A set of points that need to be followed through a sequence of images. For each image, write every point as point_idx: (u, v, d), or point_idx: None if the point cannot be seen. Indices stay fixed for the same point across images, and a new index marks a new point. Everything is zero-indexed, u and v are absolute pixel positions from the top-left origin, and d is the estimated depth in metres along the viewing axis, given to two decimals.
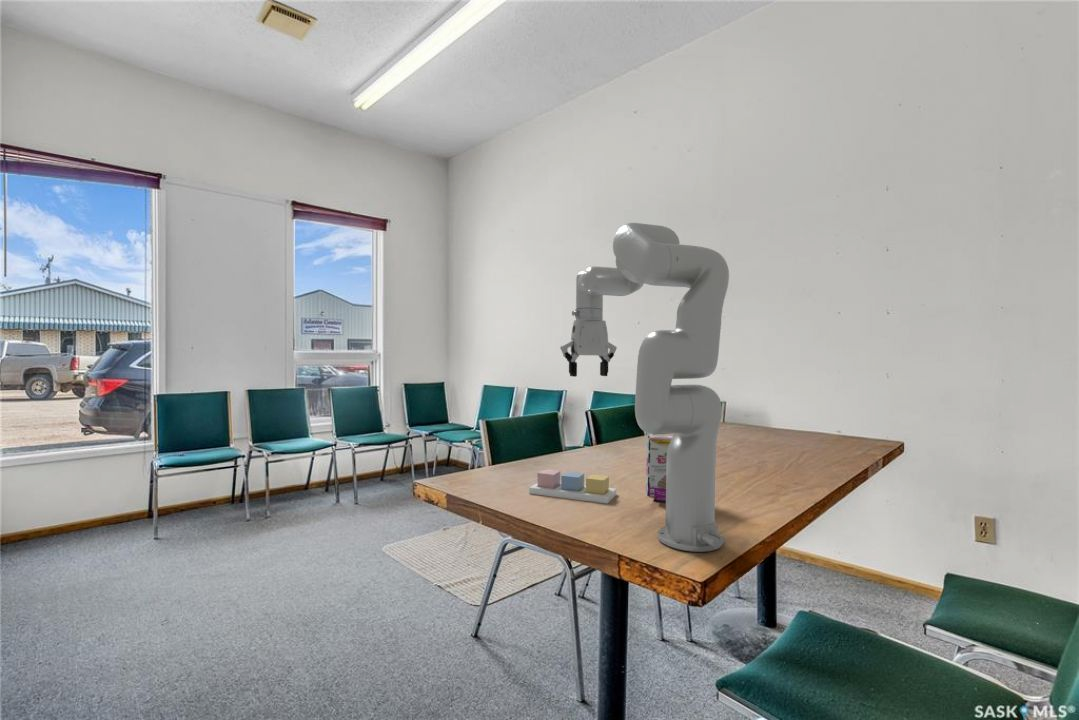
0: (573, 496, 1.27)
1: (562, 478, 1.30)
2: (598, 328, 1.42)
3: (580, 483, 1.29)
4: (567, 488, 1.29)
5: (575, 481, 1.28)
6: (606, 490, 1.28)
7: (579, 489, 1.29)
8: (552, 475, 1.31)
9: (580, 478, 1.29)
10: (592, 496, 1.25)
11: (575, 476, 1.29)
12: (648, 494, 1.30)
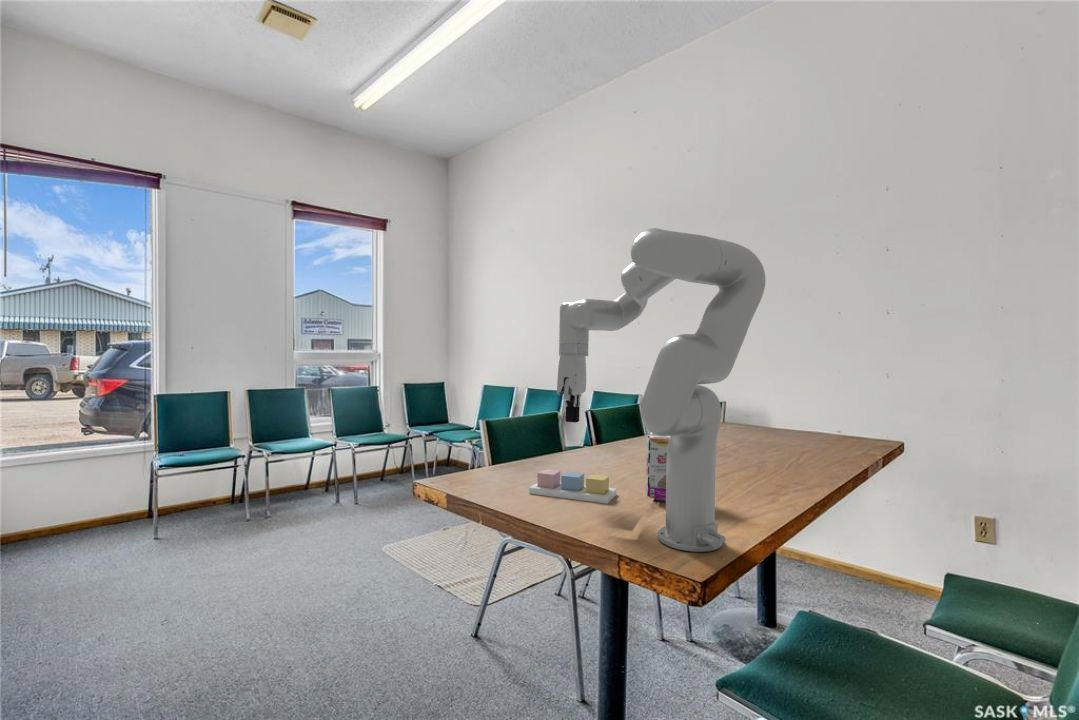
0: (573, 496, 1.27)
1: (562, 478, 1.30)
2: None
3: (580, 483, 1.29)
4: (567, 488, 1.29)
5: (575, 481, 1.28)
6: (606, 490, 1.28)
7: (579, 489, 1.29)
8: (552, 475, 1.31)
9: (580, 478, 1.29)
10: (592, 496, 1.25)
11: (575, 476, 1.29)
12: (648, 494, 1.30)
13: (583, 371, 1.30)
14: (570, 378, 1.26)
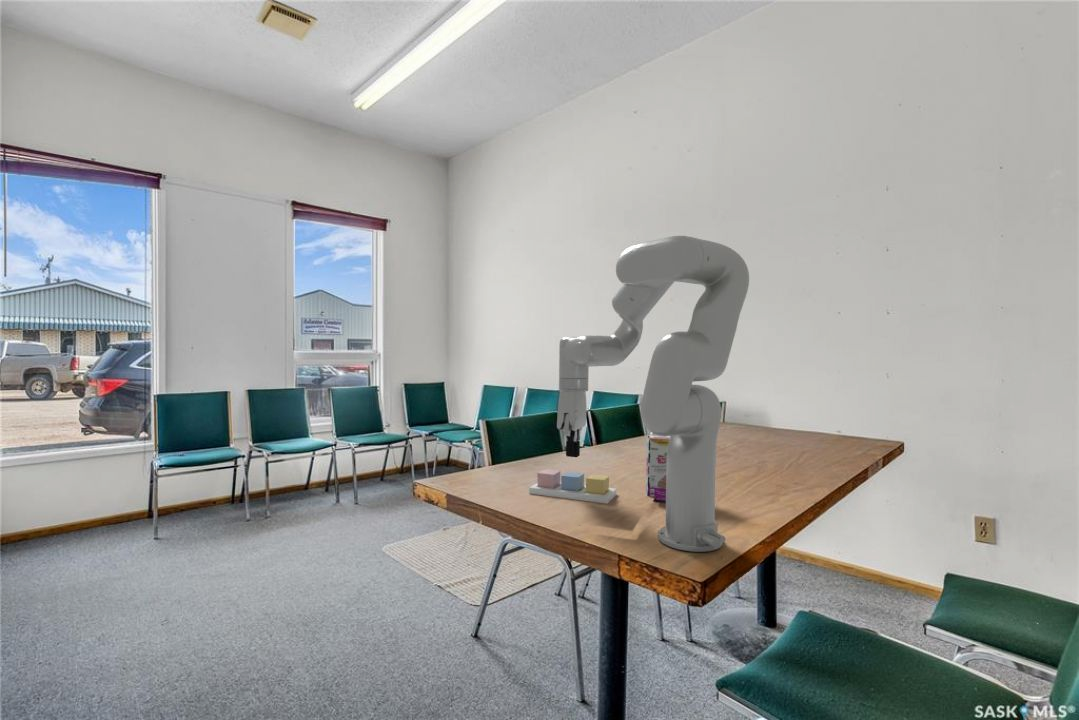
0: (573, 496, 1.27)
1: (562, 478, 1.30)
2: None
3: (580, 483, 1.29)
4: (567, 488, 1.29)
5: (575, 481, 1.28)
6: (606, 490, 1.28)
7: (579, 489, 1.29)
8: (552, 475, 1.31)
9: (580, 478, 1.29)
10: (592, 496, 1.25)
11: (575, 476, 1.29)
12: (648, 494, 1.30)
13: (583, 406, 1.31)
14: (570, 414, 1.26)
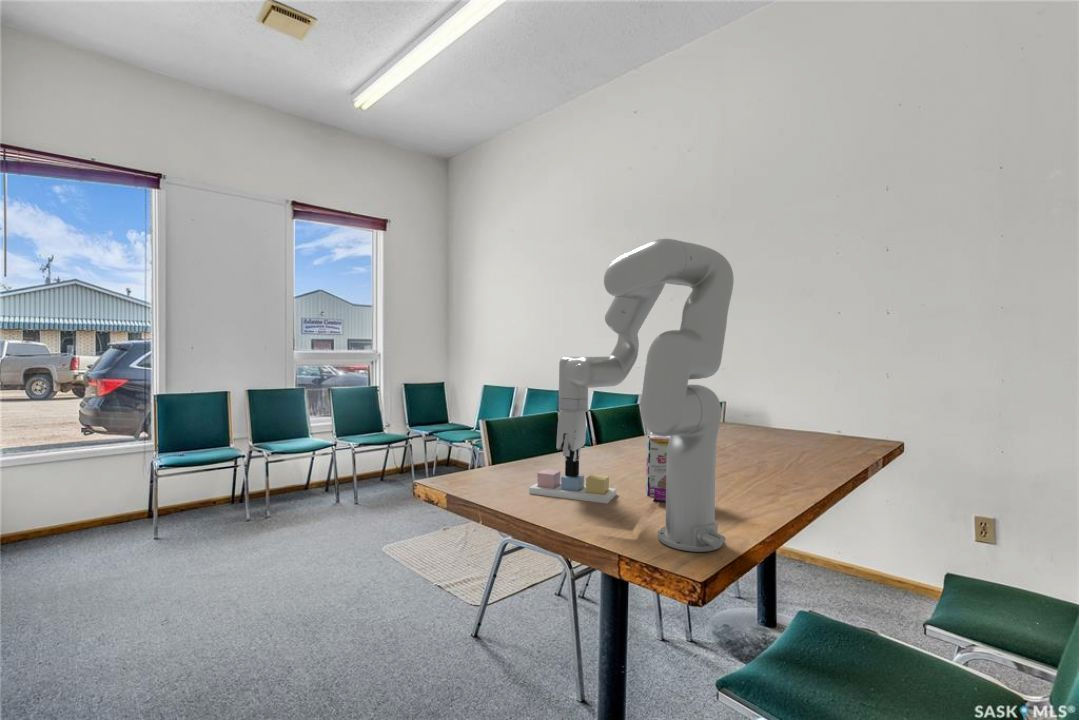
0: (573, 496, 1.27)
1: (562, 479, 1.30)
2: None
3: (580, 484, 1.29)
4: (567, 489, 1.29)
5: (575, 483, 1.28)
6: (606, 490, 1.28)
7: (579, 490, 1.29)
8: (552, 475, 1.31)
9: (579, 480, 1.29)
10: (592, 496, 1.25)
11: (575, 477, 1.29)
12: (648, 494, 1.30)
13: (583, 425, 1.31)
14: (570, 434, 1.26)
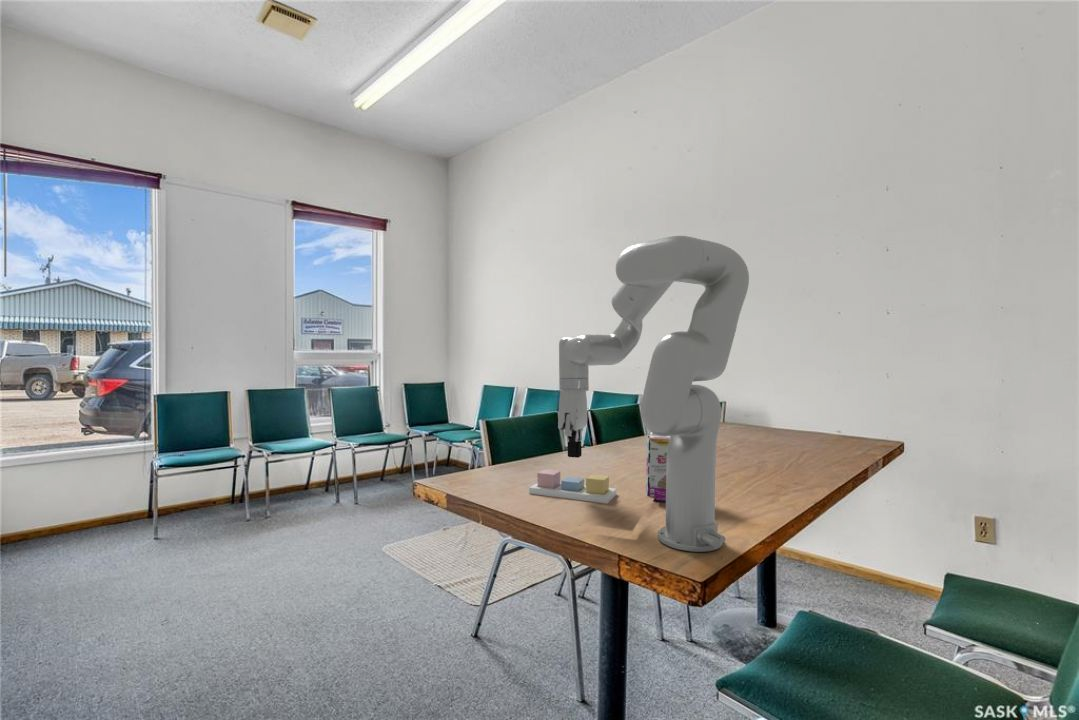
0: (573, 496, 1.27)
1: (562, 483, 1.30)
2: None
3: (580, 488, 1.29)
4: None
5: (574, 487, 1.28)
6: (606, 490, 1.28)
7: None
8: (552, 475, 1.31)
9: (579, 484, 1.29)
10: (592, 496, 1.25)
11: (575, 481, 1.29)
12: (648, 494, 1.30)
13: (584, 405, 1.30)
14: (571, 414, 1.26)
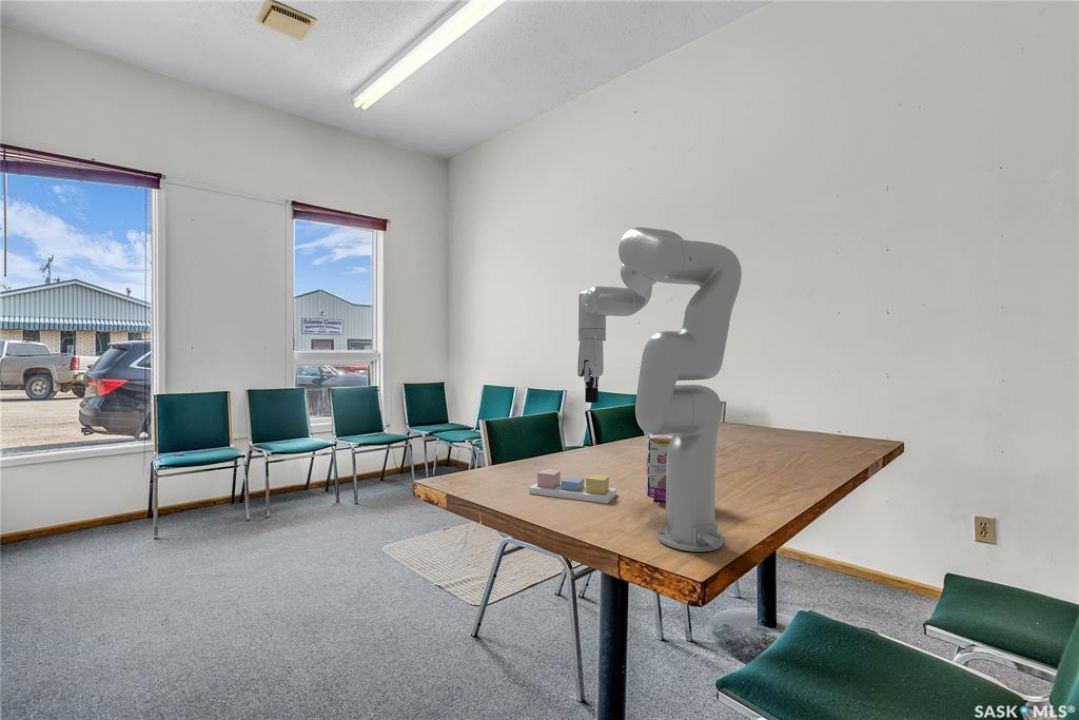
0: (573, 496, 1.27)
1: (562, 483, 1.30)
2: None
3: (580, 488, 1.29)
4: None
5: (574, 487, 1.28)
6: (606, 490, 1.28)
7: None
8: (552, 475, 1.31)
9: (579, 484, 1.29)
10: (592, 496, 1.25)
11: (575, 481, 1.29)
12: (648, 494, 1.30)
13: (601, 355, 1.40)
14: (590, 361, 1.35)
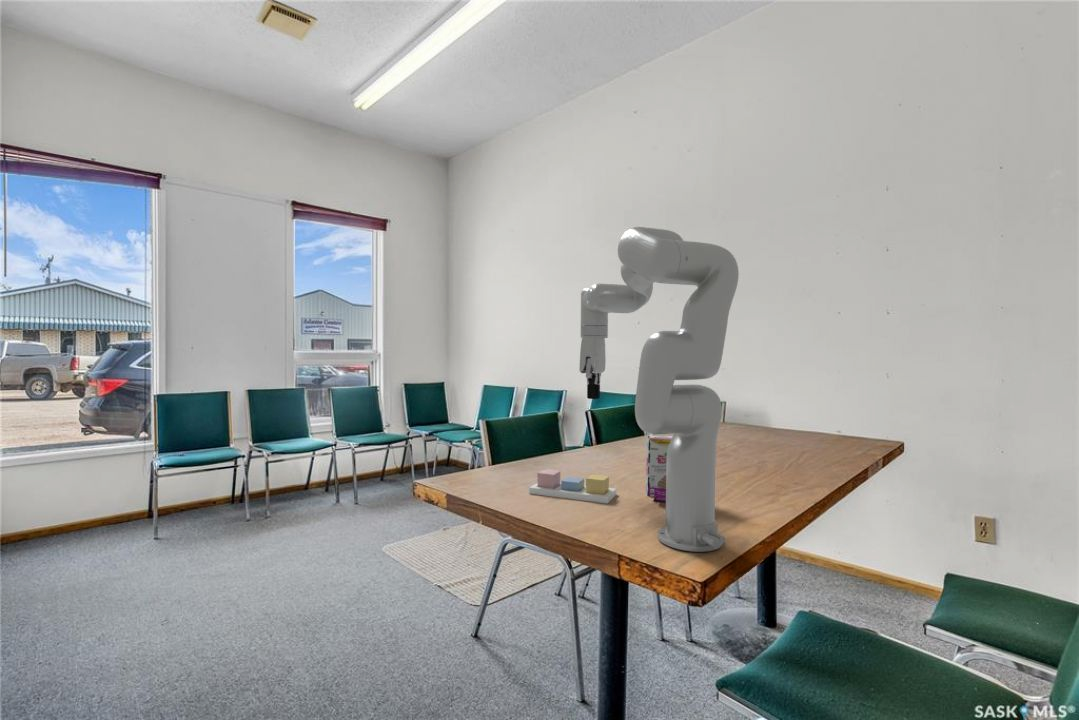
0: (573, 496, 1.27)
1: (562, 483, 1.30)
2: None
3: (580, 488, 1.29)
4: None
5: (574, 487, 1.28)
6: (606, 490, 1.28)
7: None
8: (552, 475, 1.31)
9: (579, 484, 1.29)
10: (592, 496, 1.25)
11: (575, 481, 1.29)
12: (648, 494, 1.30)
13: (603, 352, 1.41)
14: (592, 357, 1.37)
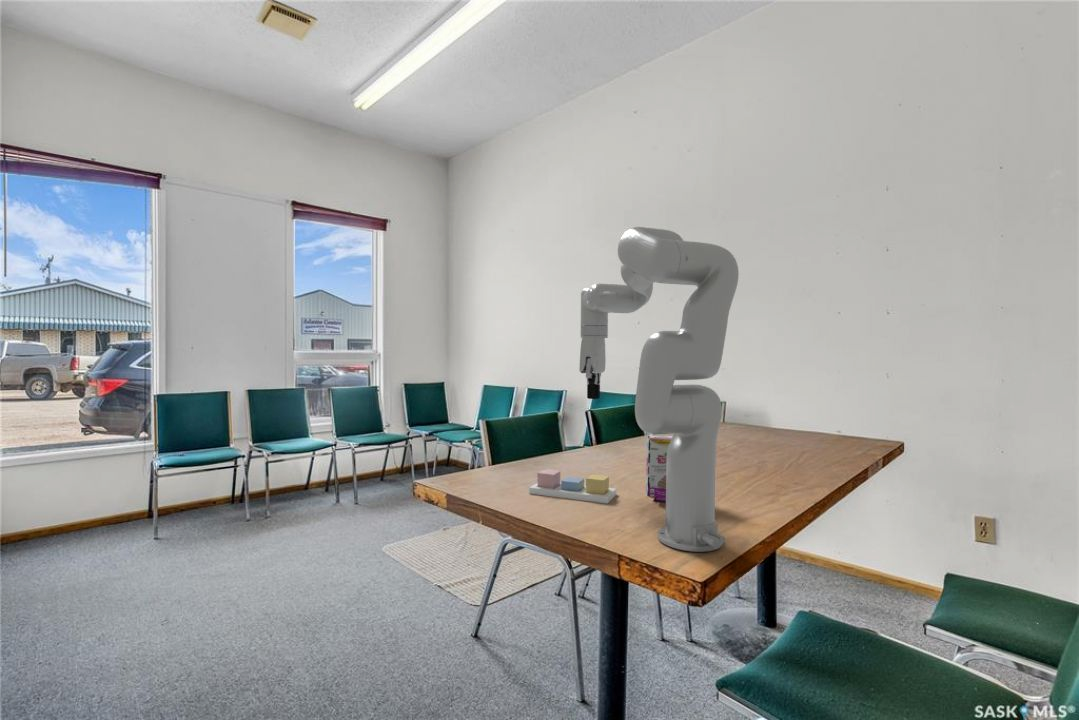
0: (573, 496, 1.27)
1: (562, 483, 1.30)
2: None
3: (580, 488, 1.29)
4: None
5: (574, 487, 1.28)
6: (606, 490, 1.28)
7: None
8: (552, 475, 1.31)
9: (579, 484, 1.29)
10: (592, 496, 1.25)
11: (575, 481, 1.29)
12: (648, 494, 1.30)
13: (603, 352, 1.41)
14: (592, 357, 1.37)
